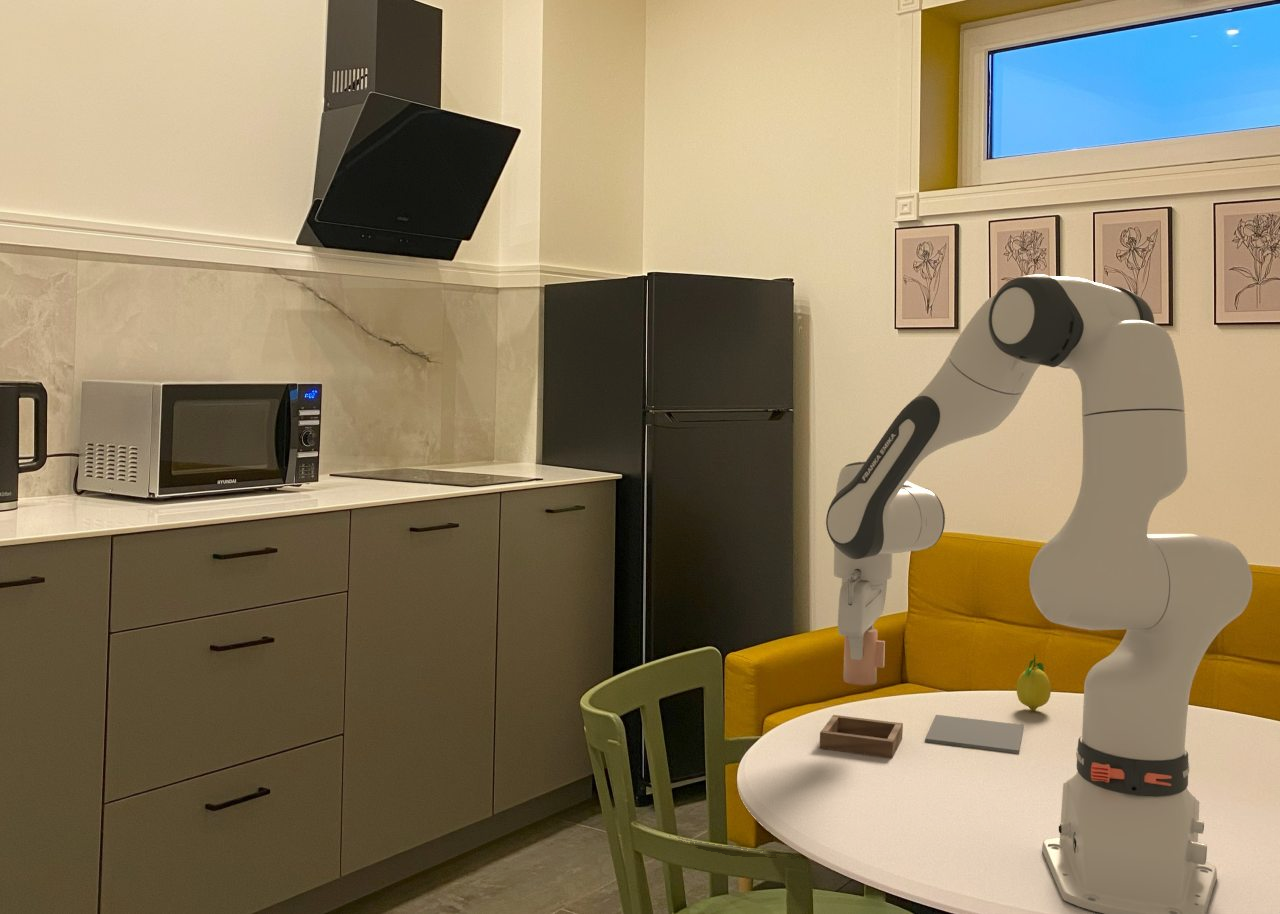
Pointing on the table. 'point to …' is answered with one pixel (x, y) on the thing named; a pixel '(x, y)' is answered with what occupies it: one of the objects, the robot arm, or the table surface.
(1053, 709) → the table surface
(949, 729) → the mat
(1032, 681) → the lemon
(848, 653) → the capsule with tab
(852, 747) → the brown wooden frame
